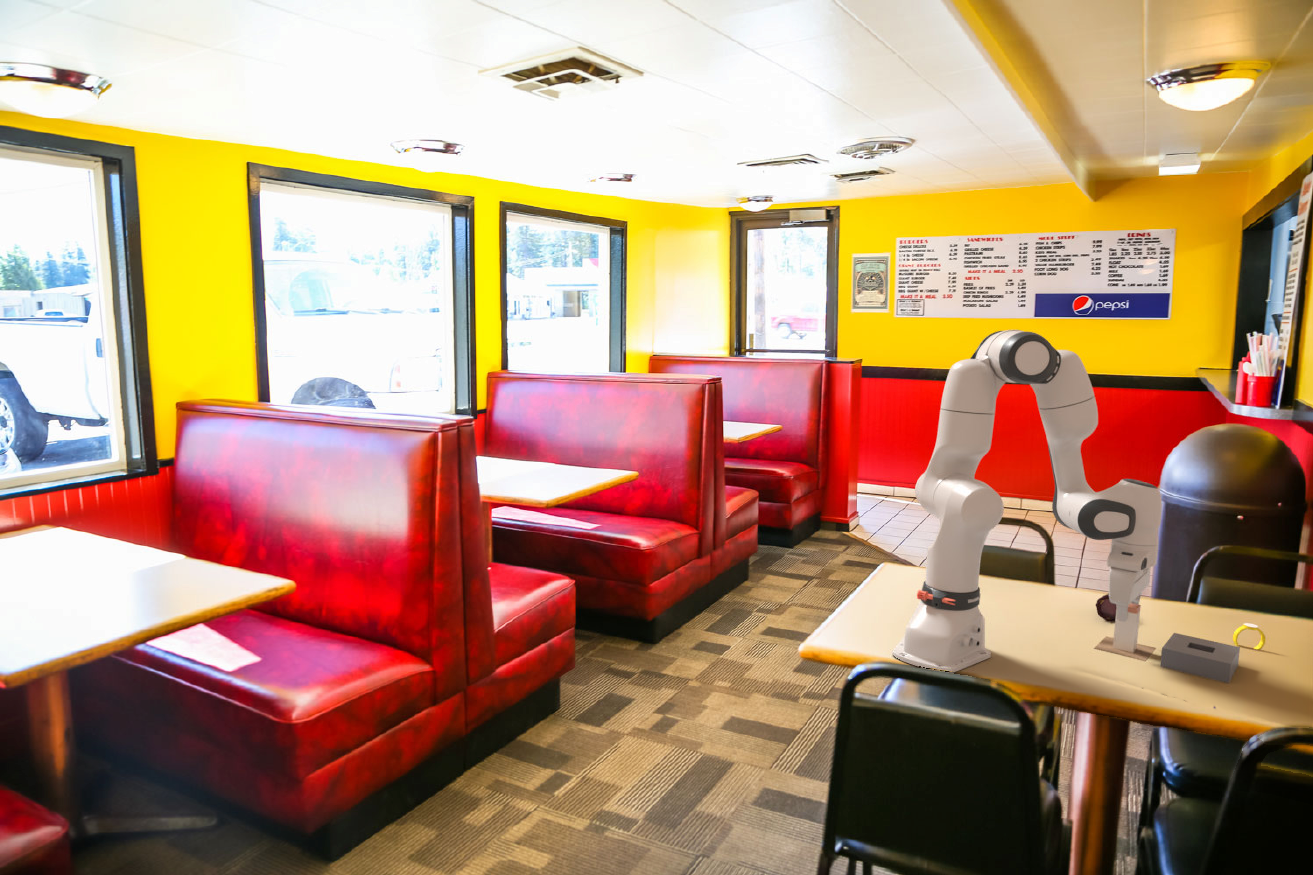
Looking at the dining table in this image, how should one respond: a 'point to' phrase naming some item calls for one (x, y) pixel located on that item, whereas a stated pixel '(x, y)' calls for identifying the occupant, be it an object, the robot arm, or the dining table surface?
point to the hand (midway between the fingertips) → (1127, 614)
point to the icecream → (1106, 608)
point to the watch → (1251, 627)
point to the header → (1200, 657)
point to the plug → (1127, 630)
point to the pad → (1140, 652)
